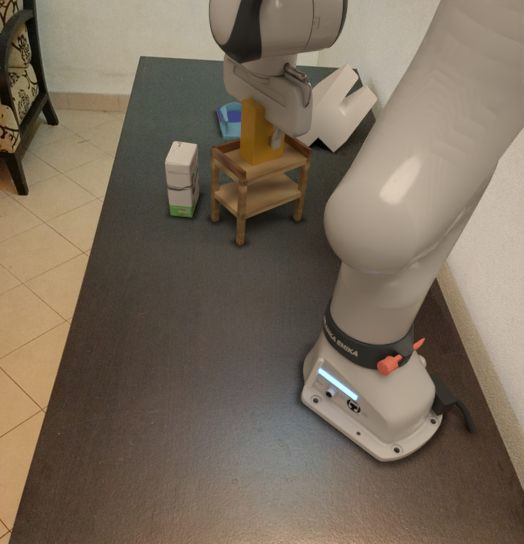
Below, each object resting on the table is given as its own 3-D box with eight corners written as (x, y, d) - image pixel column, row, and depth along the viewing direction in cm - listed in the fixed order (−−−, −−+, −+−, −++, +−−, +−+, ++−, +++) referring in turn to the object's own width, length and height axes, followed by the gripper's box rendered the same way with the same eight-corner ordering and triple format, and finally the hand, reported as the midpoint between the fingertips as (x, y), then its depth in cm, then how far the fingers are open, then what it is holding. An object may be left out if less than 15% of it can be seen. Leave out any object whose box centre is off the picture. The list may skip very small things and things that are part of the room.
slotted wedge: (321, 163, 120) (378, 111, 109) (290, 133, 115) (346, 76, 104) (323, 137, 129) (376, 86, 117) (294, 108, 124) (346, 52, 112)
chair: (221, 168, 109) (221, 116, 100) (216, 150, 114) (216, 98, 105) (253, 167, 110) (257, 115, 101) (247, 149, 115) (250, 98, 106)
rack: (301, 219, 99) (312, 149, 87) (239, 245, 92) (242, 172, 80) (271, 196, 103) (279, 126, 91) (211, 219, 97) (210, 146, 85)
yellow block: (282, 156, 87) (288, 100, 80) (252, 166, 84) (255, 109, 77) (269, 146, 89) (274, 91, 81) (239, 156, 86) (241, 99, 78)
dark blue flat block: (254, 129, 119) (247, 107, 126) (222, 129, 117) (216, 107, 125) (254, 135, 120) (246, 112, 127) (222, 135, 118) (216, 113, 126)
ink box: (192, 218, 96) (190, 165, 87) (169, 215, 96) (163, 162, 87) (199, 195, 102) (198, 142, 93) (177, 192, 102) (173, 139, 93)
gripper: (328, 74, 70) (313, 160, 81) (247, 28, 80) (244, 111, 90) (296, 82, 67) (285, 170, 78) (216, 34, 77) (217, 119, 88)
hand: (262, 138), depth 84 cm, fingers open, 5 cm apart
